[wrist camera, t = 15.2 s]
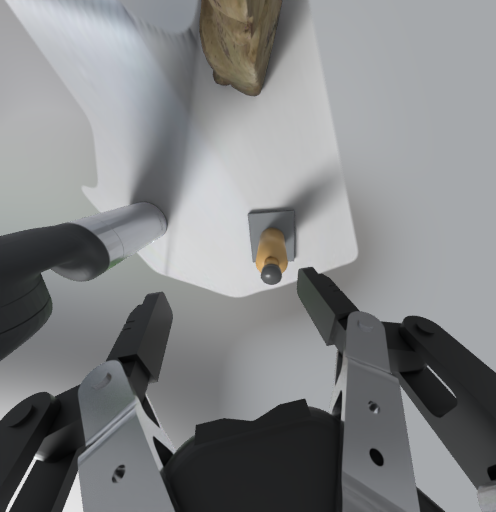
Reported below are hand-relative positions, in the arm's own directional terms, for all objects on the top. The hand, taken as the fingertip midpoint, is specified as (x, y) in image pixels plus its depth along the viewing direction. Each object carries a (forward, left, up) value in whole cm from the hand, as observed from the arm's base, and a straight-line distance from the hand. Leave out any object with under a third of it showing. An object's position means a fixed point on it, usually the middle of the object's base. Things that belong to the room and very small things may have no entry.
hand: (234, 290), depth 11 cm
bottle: (+1, -9, -30) cm, 31 cm away
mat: (+1, -9, -31) cm, 32 cm away
